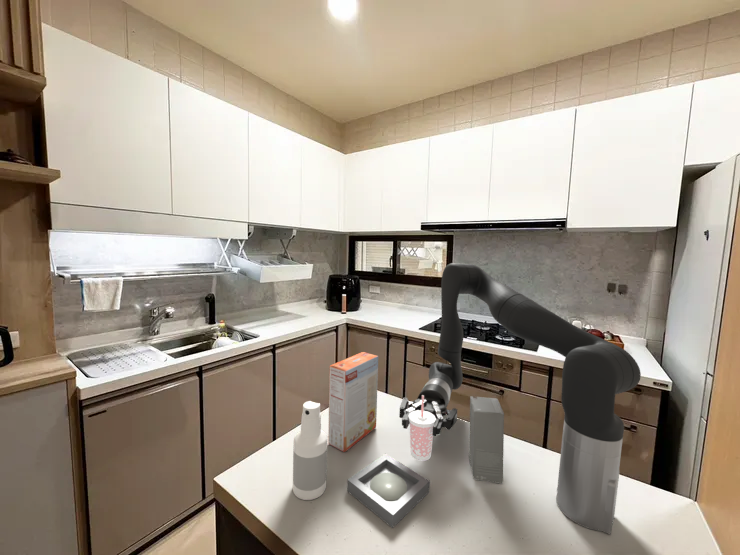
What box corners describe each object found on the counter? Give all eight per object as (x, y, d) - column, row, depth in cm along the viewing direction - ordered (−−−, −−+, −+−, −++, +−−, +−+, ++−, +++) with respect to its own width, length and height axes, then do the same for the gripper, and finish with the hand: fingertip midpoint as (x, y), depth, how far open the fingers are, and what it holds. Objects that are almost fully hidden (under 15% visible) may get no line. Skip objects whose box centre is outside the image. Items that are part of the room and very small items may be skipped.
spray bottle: (285, 494, 63) (287, 408, 61) (304, 472, 69) (305, 394, 67) (315, 505, 60) (318, 416, 59) (332, 481, 67) (334, 400, 65)
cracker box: (359, 420, 91) (362, 350, 89) (376, 428, 87) (380, 355, 85) (326, 444, 79) (328, 364, 78) (344, 453, 76) (347, 370, 74)
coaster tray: (429, 492, 65) (429, 480, 65) (392, 528, 56) (393, 515, 56) (385, 463, 73) (385, 453, 73) (347, 490, 64) (347, 479, 64)
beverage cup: (419, 466, 68) (422, 404, 67) (401, 451, 73) (403, 393, 72) (439, 457, 71) (442, 397, 70) (421, 443, 76) (423, 387, 75)
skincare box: (503, 485, 68) (509, 415, 66) (468, 479, 69) (473, 410, 68) (495, 460, 76) (500, 397, 74) (465, 455, 77) (469, 393, 76)
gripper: (409, 378, 87) (389, 405, 72) (463, 388, 81) (453, 419, 66) (408, 404, 88) (388, 436, 72) (461, 416, 82) (451, 453, 67)
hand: (419, 428), depth 69 cm, fingers closed on beverage cup, 6 cm apart
